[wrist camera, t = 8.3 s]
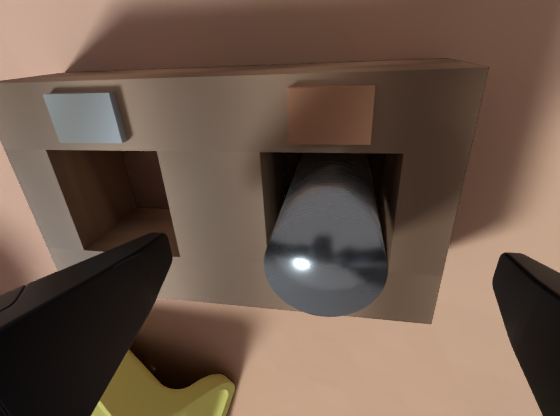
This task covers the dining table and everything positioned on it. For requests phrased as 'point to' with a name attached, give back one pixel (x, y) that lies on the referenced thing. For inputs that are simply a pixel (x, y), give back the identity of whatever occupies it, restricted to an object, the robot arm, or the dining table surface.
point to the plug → (328, 238)
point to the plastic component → (162, 394)
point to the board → (244, 164)
